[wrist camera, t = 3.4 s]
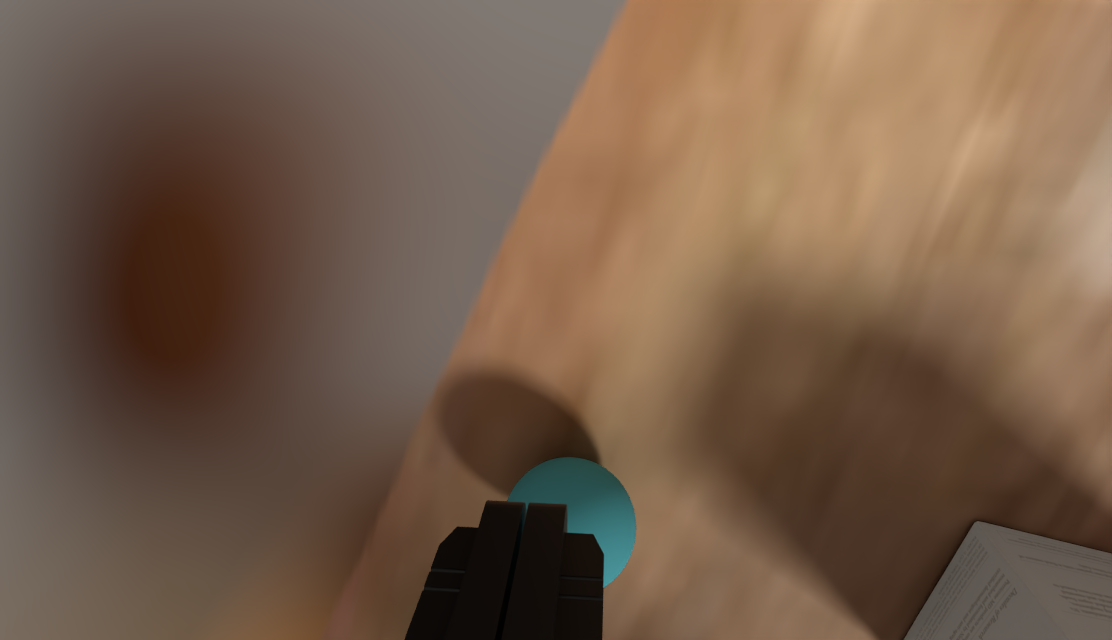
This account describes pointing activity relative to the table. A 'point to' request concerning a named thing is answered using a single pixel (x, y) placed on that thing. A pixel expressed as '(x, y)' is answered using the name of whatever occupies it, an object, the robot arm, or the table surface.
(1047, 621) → the supplement box
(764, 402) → the table surface
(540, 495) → the ball
